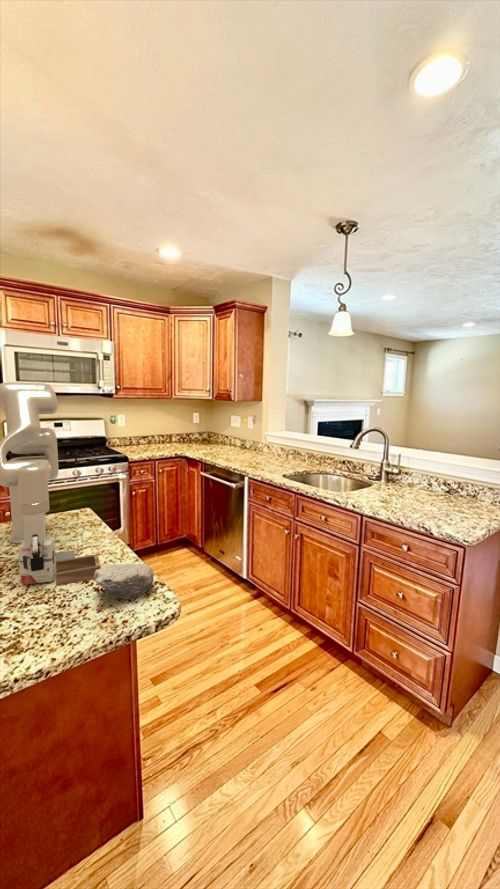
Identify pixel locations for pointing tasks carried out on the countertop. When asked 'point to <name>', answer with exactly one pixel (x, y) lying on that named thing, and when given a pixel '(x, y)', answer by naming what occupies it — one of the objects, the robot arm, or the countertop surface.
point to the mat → (65, 555)
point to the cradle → (76, 569)
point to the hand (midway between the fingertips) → (38, 564)
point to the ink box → (48, 560)
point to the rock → (125, 579)
